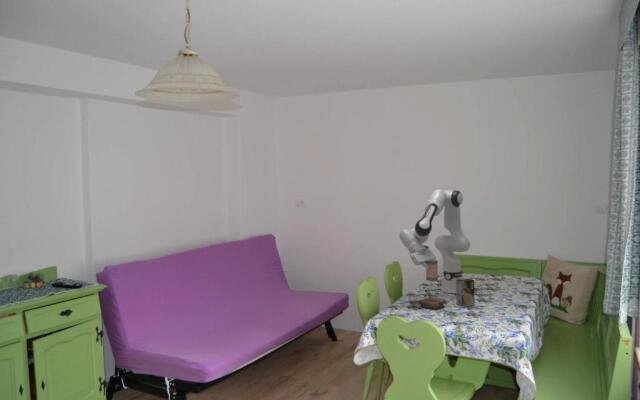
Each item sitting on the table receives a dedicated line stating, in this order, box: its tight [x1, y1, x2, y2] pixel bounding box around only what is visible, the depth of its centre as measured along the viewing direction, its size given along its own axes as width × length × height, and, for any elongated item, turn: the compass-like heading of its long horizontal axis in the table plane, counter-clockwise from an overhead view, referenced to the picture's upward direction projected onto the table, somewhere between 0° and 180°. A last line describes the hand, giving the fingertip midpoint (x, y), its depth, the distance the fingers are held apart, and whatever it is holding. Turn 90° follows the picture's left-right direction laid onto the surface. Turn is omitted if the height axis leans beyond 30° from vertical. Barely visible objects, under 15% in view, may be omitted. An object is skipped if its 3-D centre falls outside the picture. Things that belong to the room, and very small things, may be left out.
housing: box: [425, 259, 439, 282], centre depth 306 cm, size 5×5×12 cm
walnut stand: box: [418, 297, 447, 311], centre depth 307 cm, size 12×12×4 cm
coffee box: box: [455, 277, 476, 308], centre depth 310 cm, size 9×6×16 cm
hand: (431, 268), depth 307 cm, fingers closed on housing, 5 cm apart
